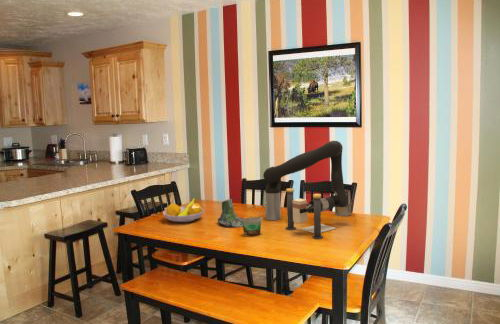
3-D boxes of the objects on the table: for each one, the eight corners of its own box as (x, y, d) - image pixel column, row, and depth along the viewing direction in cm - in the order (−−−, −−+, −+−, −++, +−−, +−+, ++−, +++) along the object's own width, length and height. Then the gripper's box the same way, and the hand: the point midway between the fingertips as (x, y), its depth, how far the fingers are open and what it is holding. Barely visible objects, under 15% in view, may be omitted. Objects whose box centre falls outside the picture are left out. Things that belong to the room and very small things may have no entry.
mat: (301, 229, 241) (301, 228, 240) (321, 224, 250) (321, 223, 250) (315, 234, 231) (315, 233, 231) (336, 228, 240) (336, 227, 240)
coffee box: (351, 214, 272) (351, 190, 270) (348, 216, 266) (348, 191, 264) (337, 213, 276) (337, 189, 274) (334, 215, 270) (334, 190, 268)
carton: (292, 221, 232) (292, 199, 231) (300, 219, 235) (300, 198, 234) (299, 223, 228) (299, 201, 226) (307, 221, 231) (306, 200, 229)
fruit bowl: (184, 227, 252) (183, 209, 251) (154, 221, 269) (153, 204, 267) (215, 217, 274) (214, 200, 273) (185, 212, 291) (185, 196, 289)
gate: (283, 228, 243) (282, 188, 240) (291, 226, 247) (290, 187, 244) (317, 240, 221) (316, 196, 218) (325, 237, 224) (325, 194, 221)
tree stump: (245, 229, 246) (236, 200, 244) (215, 235, 253) (207, 207, 251) (254, 220, 263) (247, 193, 261) (226, 225, 270) (218, 199, 268)
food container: (244, 237, 228) (243, 220, 227) (241, 234, 234) (240, 217, 233) (265, 235, 232) (265, 217, 230) (262, 232, 238) (261, 215, 236)
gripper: (310, 197, 244) (287, 201, 235) (327, 201, 232) (305, 206, 223) (310, 209, 245) (288, 214, 235) (327, 214, 233) (305, 219, 224)
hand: (296, 210), depth 229 cm, fingers closed on carton, 5 cm apart
